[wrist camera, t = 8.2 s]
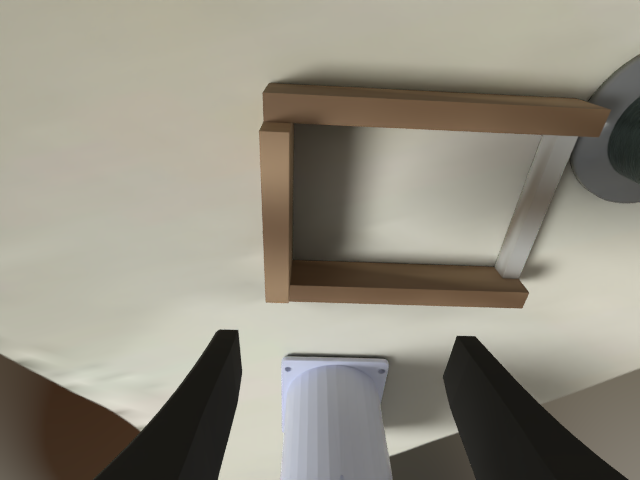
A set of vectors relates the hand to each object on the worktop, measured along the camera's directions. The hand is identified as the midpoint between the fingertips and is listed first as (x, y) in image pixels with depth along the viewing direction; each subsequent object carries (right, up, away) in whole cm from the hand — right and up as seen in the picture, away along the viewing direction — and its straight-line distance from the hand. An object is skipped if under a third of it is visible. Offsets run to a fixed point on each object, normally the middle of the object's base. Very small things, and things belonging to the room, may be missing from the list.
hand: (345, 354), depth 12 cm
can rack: (+4, +6, +8) cm, 11 cm away
